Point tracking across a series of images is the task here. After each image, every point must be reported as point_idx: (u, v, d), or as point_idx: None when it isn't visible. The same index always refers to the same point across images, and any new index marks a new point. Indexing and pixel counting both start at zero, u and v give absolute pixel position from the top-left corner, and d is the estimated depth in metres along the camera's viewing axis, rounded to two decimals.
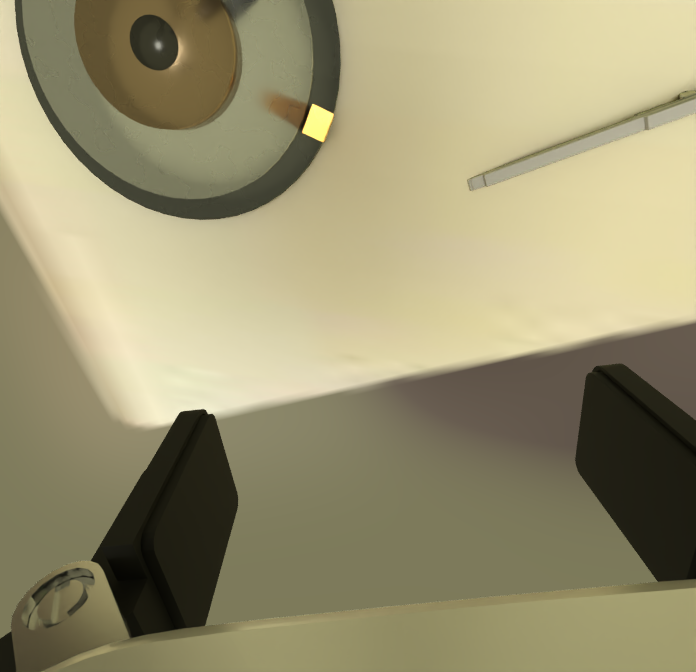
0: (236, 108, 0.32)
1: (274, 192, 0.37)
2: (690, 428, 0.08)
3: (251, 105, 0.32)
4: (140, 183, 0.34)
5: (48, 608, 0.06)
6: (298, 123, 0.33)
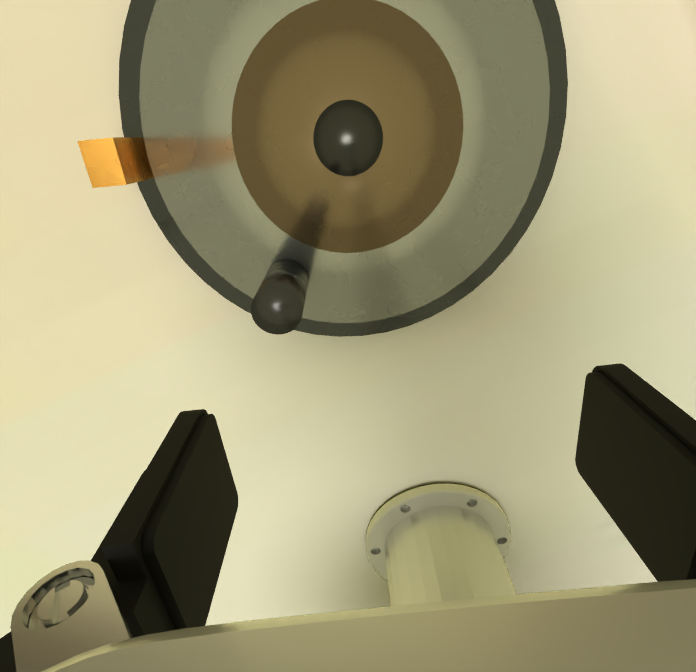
0: None
1: (136, 14, 0.21)
2: (690, 428, 0.08)
3: (218, 132, 0.21)
4: None
5: (48, 608, 0.06)
6: (146, 145, 0.21)
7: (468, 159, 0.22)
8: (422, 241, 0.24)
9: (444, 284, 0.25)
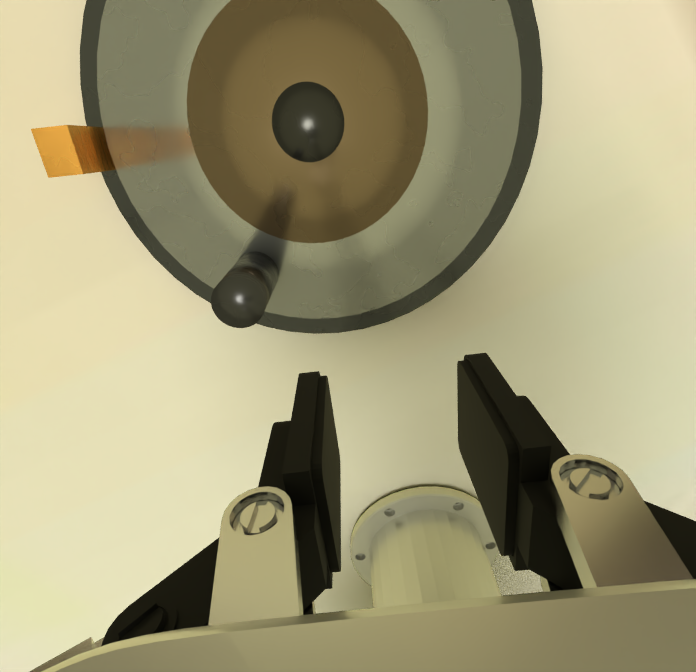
0: None
1: (95, 1, 0.20)
2: (511, 406, 0.09)
3: (179, 120, 0.20)
4: None
5: (250, 520, 0.07)
6: (106, 134, 0.21)
7: (439, 147, 0.21)
8: (394, 232, 0.23)
9: (419, 277, 0.24)
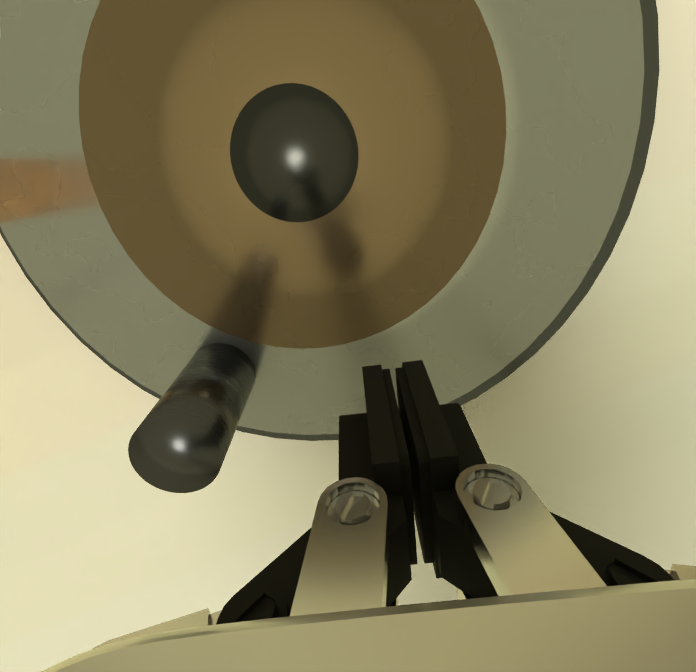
0: None
1: None
2: (431, 414, 0.09)
3: None
4: None
5: (347, 511, 0.07)
6: None
7: (505, 189, 0.13)
8: (431, 315, 0.15)
9: (466, 379, 0.16)
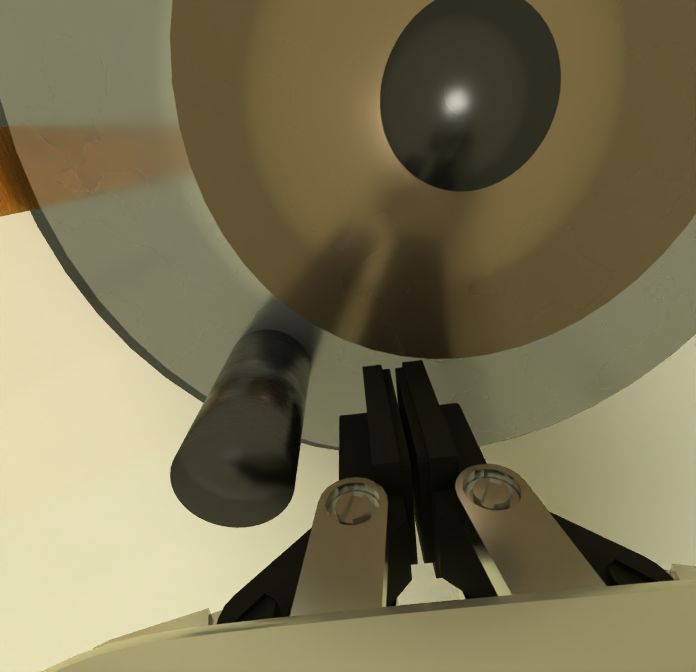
0: None
1: None
2: (431, 414, 0.09)
3: (158, 54, 0.10)
4: None
5: (347, 510, 0.07)
6: None
7: None
8: None
9: (555, 409, 0.14)
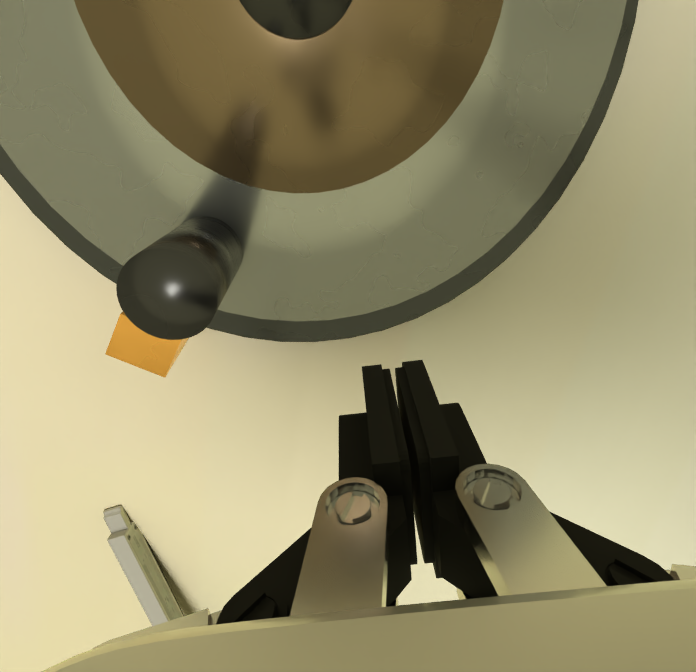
0: None
1: (27, 191, 0.16)
2: (431, 414, 0.09)
3: None
4: None
5: (347, 510, 0.07)
6: None
7: (499, 46, 0.13)
8: (423, 188, 0.15)
9: (456, 259, 0.16)
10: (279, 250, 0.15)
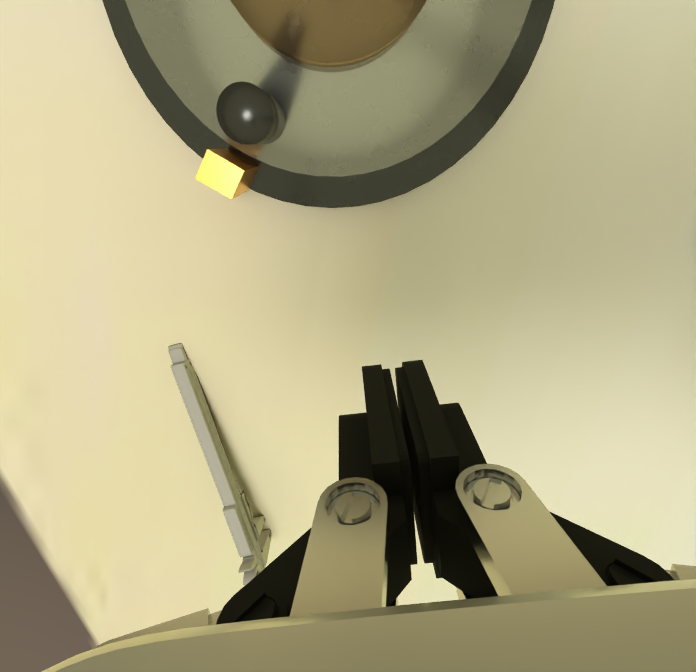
0: None
1: (145, 81, 0.24)
2: (431, 414, 0.09)
3: None
4: None
5: (347, 511, 0.07)
6: None
7: None
8: (407, 79, 0.22)
9: (430, 133, 0.23)
10: (309, 121, 0.23)
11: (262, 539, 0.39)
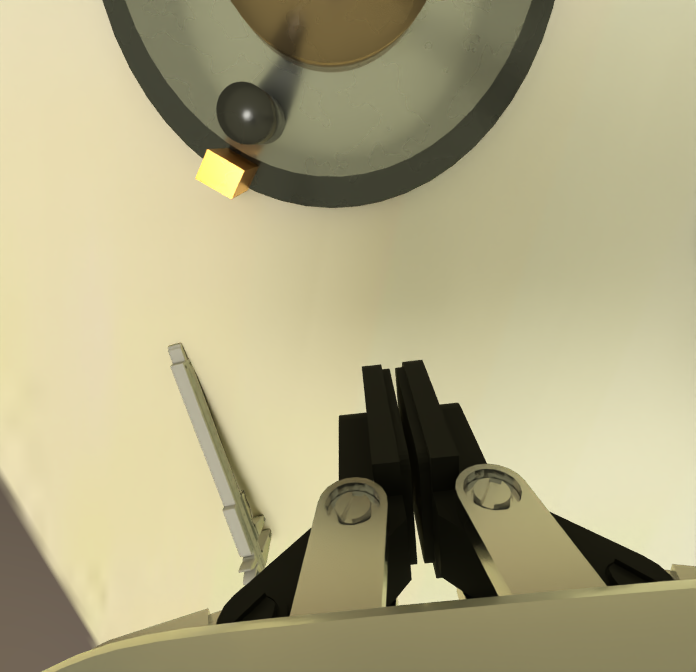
0: None
1: (145, 81, 0.24)
2: (431, 414, 0.09)
3: None
4: None
5: (347, 511, 0.07)
6: None
7: None
8: (407, 79, 0.22)
9: (430, 133, 0.23)
10: (309, 121, 0.23)
11: (262, 539, 0.39)
